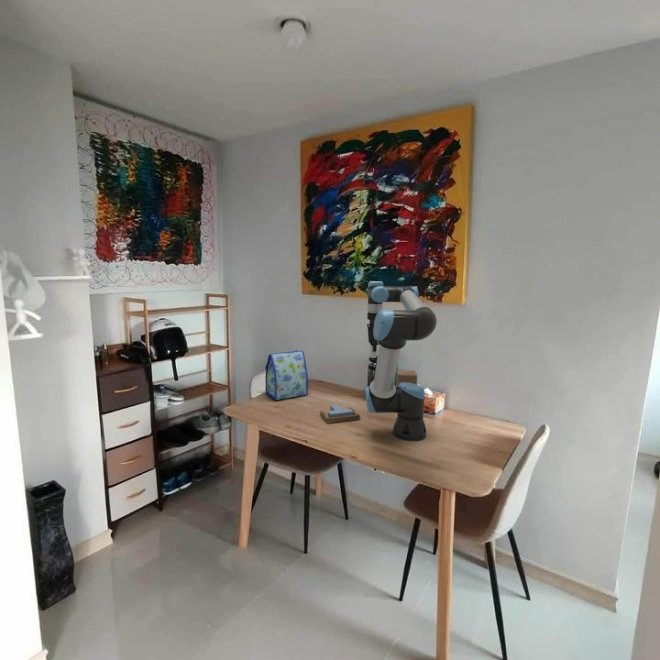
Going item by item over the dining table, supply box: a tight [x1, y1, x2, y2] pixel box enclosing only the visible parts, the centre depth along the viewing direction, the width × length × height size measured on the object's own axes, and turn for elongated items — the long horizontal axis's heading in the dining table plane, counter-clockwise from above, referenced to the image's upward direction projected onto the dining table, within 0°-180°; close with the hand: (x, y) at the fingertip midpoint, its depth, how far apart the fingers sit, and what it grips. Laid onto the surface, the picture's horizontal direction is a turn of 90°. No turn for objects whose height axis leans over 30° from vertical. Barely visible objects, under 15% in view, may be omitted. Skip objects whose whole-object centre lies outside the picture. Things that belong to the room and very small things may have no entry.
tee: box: [327, 403, 353, 418], centre depth 199 cm, size 12×12×4 cm
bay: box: [319, 407, 361, 425], centre depth 195 cm, size 12×17×2 cm
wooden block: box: [395, 369, 418, 387], centre depth 209 cm, size 10×10×20 cm
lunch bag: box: [264, 349, 309, 401], centre depth 226 cm, size 22×17×26 cm
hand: (373, 357), depth 199 cm, fingers closed
